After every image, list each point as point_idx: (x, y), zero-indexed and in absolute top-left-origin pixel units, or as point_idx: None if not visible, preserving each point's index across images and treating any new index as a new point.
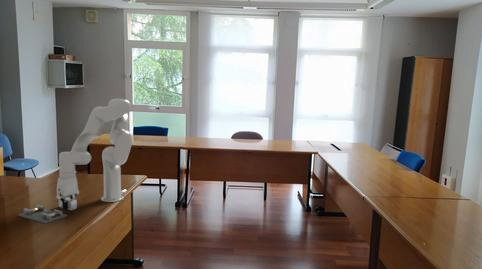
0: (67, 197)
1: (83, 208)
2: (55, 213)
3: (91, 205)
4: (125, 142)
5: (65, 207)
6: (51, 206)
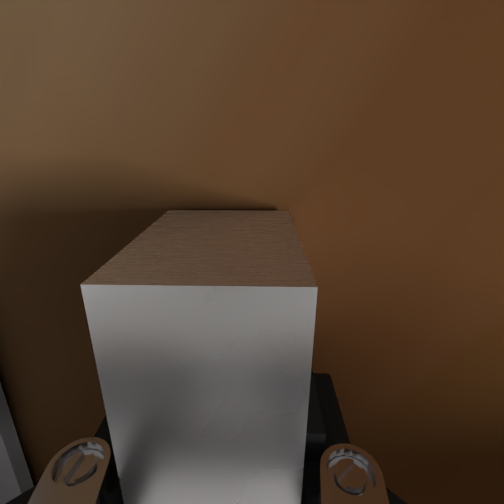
0: (291, 436)
1: None
2: None
3: (466, 490)
4: None
5: None
6: (121, 16)
